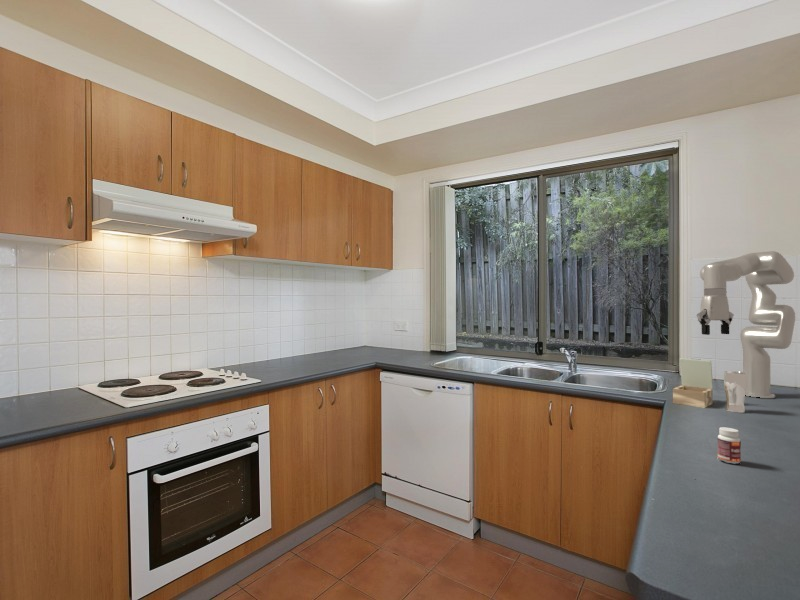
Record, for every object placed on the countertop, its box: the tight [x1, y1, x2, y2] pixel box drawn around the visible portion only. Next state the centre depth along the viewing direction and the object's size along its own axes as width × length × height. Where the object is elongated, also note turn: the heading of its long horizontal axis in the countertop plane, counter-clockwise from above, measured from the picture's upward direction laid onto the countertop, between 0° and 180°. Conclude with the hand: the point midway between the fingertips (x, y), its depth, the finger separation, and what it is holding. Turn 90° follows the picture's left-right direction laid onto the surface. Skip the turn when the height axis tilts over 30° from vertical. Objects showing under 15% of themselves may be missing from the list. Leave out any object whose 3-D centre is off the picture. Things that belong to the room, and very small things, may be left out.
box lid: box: [679, 357, 714, 389], centre depth 178 cm, size 12×11×2 cm
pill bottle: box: [717, 426, 742, 462], centre depth 109 cm, size 5×5×8 cm
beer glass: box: [723, 370, 747, 414], centre depth 162 cm, size 7×7×15 cm
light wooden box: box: [672, 384, 714, 409], centre depth 175 cm, size 12×11×6 cm
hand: (715, 334), depth 174 cm, fingers open, 9 cm apart
